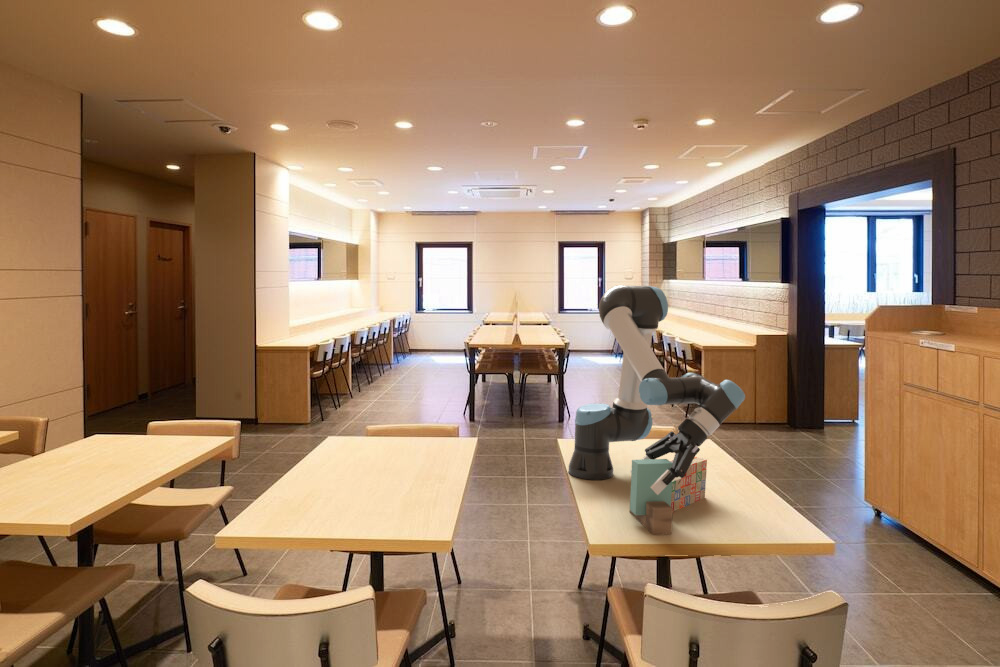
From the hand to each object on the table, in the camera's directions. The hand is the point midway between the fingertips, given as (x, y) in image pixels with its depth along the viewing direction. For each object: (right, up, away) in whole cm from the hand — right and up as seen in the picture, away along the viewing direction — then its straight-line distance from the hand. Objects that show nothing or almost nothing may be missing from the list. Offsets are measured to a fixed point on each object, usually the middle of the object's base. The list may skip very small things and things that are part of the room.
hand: (643, 482), depth 166 cm
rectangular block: (+2, -8, +1) cm, 9 cm away
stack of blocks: (+15, -11, +18) cm, 25 cm away
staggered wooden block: (+2, -11, +1) cm, 11 cm away
